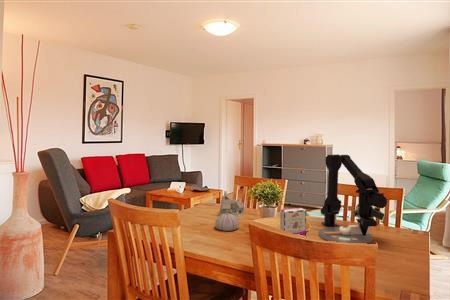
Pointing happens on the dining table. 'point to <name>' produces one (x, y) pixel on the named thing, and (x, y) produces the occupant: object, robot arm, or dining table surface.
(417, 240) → the dining table surface
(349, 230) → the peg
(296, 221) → the candy bar box
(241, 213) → the ceramic cottage
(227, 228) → the sea urchin shell
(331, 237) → the round gray plate
